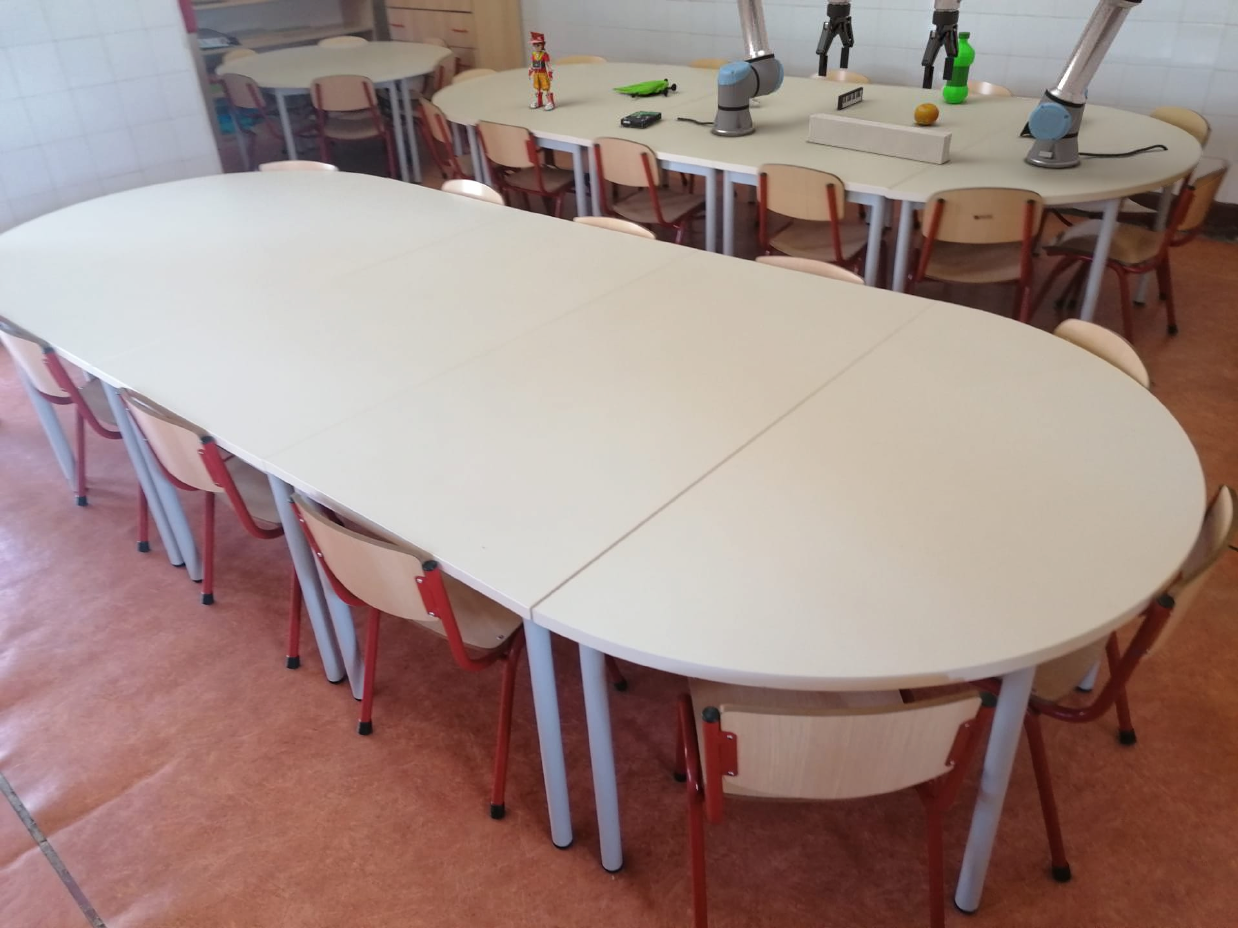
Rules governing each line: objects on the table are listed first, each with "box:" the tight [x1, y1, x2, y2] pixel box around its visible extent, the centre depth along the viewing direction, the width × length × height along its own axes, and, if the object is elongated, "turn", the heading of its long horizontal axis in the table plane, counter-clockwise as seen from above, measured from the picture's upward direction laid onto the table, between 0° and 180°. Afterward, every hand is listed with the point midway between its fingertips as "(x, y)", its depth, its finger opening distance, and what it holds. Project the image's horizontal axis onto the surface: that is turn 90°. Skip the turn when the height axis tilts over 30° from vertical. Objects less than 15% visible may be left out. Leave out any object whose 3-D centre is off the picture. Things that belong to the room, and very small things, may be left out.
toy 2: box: [612, 78, 677, 99], centre depth 396 cm, size 28×5×30 cm
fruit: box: [913, 102, 940, 126], centre depth 329 cm, size 8×8×8 cm
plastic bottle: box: [942, 31, 976, 104], centre depth 348 cm, size 10×10×25 cm
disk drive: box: [620, 110, 663, 129], centre depth 352 cm, size 10×3×15 cm
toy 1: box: [527, 31, 556, 111], centre depth 374 cm, size 12×9×30 cm
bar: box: [807, 112, 953, 165], centre depth 305 cm, size 50×5×9 cm, turn 47°
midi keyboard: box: [836, 86, 864, 110], centre depth 358 cm, size 18×1×5 cm, turn 138°
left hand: (833, 72), depth 305 cm, fingers open, 13 cm apart
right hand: (937, 84), depth 283 cm, fingers open, 13 cm apart
